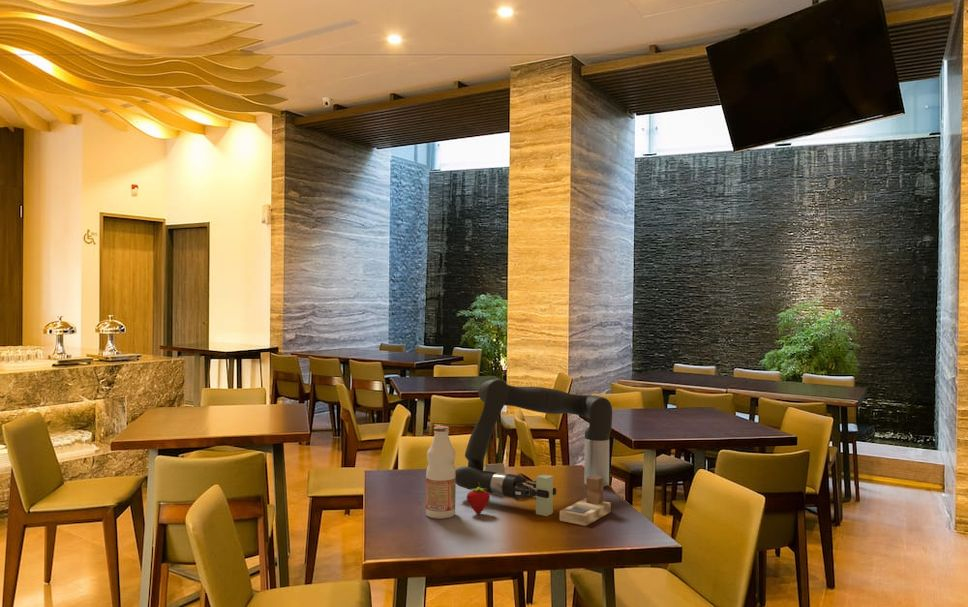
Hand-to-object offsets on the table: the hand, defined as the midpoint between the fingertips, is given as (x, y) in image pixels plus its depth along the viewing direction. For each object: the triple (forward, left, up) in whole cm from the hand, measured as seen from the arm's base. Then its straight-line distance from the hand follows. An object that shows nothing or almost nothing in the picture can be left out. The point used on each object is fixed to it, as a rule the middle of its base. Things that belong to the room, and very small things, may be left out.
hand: (552, 493), depth 220 cm
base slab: (-5, +9, -7) cm, 13 cm away
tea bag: (-13, -31, -7) cm, 34 cm away
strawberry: (+13, -20, -7) cm, 25 cm away
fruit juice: (+21, -29, -7) cm, 36 cm away
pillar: (0, -3, -7) cm, 8 cm away
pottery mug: (-15, -22, -7) cm, 28 cm away
